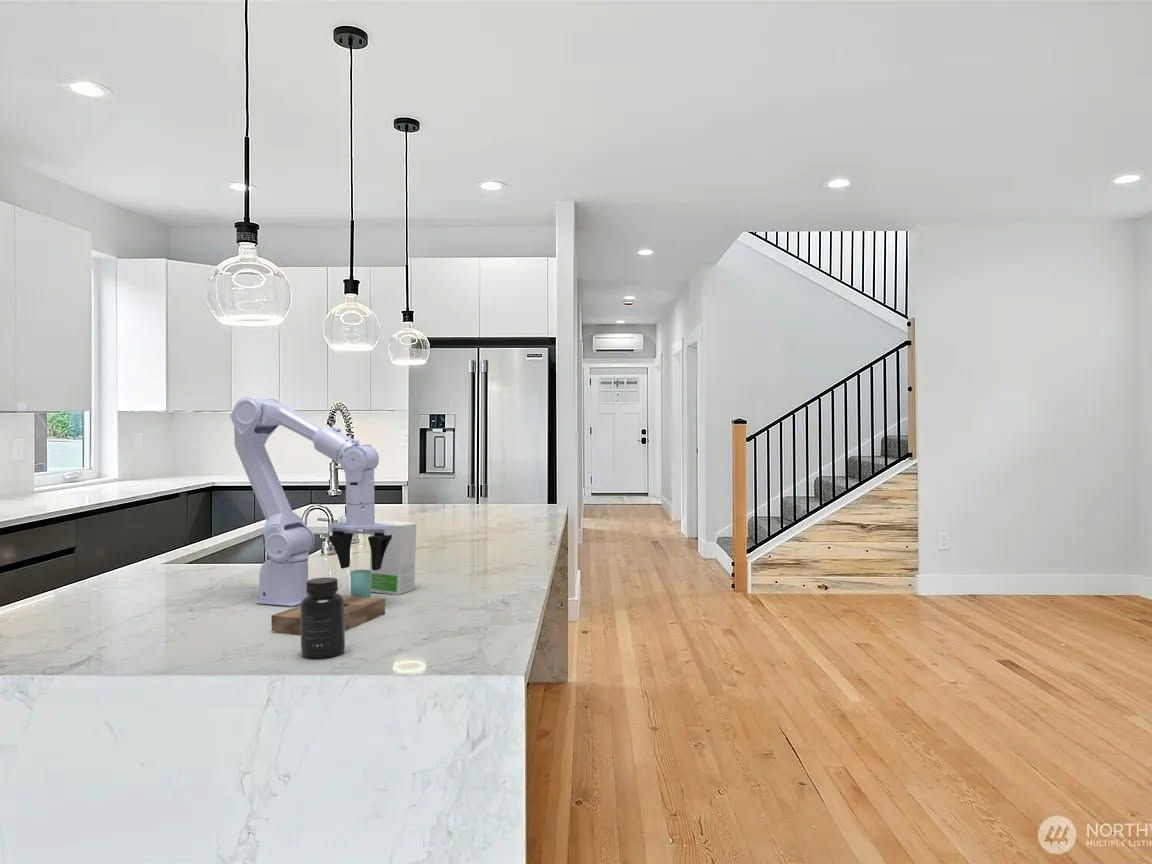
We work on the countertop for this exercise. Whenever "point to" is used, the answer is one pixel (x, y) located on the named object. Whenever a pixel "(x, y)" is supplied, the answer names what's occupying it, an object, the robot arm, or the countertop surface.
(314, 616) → the supplement bottle
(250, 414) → the robot arm
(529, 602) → the countertop surface
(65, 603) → the countertop surface
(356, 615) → the socket board
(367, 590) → the peg
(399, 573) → the skincare box
